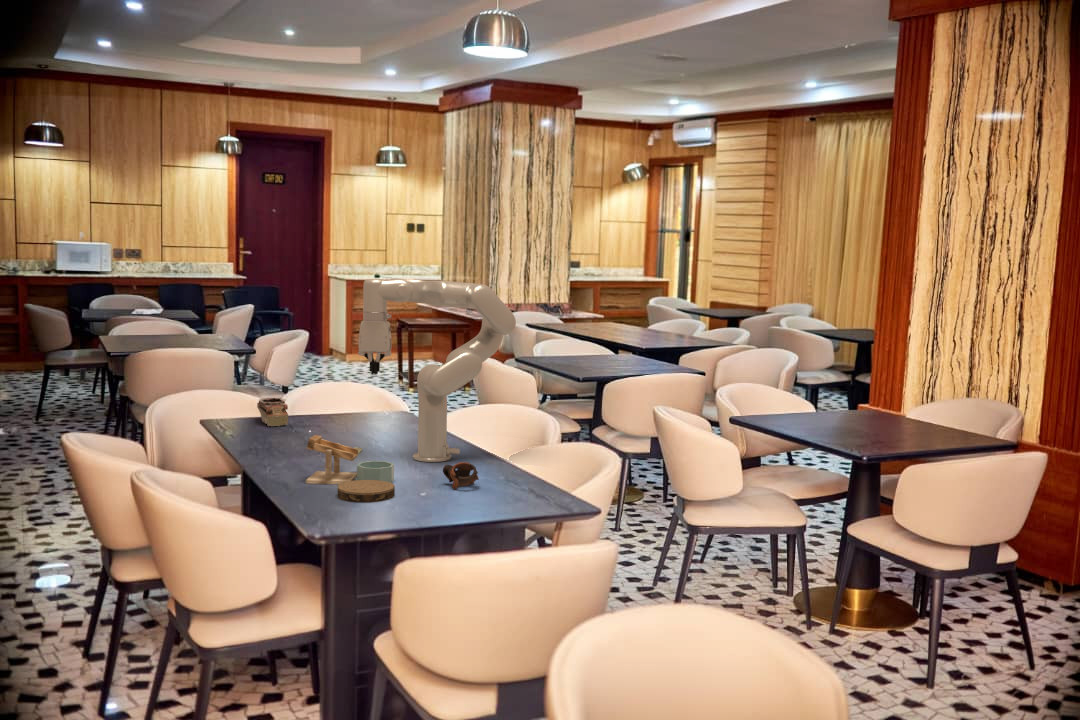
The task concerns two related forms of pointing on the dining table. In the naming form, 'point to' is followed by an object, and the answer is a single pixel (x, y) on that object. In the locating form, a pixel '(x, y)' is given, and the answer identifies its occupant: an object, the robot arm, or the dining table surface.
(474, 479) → the pottery mug
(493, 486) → the dining table surface
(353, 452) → the lever
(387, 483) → the wood log slice
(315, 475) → the frame
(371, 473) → the green octagonal bowl
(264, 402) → the decorative box
